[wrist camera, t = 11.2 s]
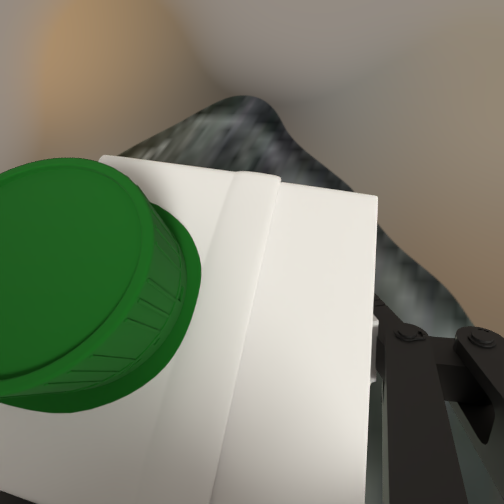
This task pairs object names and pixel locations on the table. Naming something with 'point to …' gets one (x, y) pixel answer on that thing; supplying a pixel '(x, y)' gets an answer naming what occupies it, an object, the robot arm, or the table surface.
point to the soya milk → (182, 335)
